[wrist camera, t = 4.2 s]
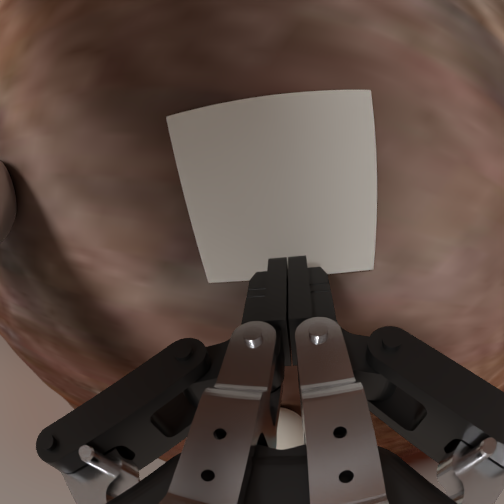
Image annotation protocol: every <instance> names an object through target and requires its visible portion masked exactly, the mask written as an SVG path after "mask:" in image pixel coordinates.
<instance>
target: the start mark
mask: <svg viewBox="0 0 504 504" xmlns="http://www.w3.org/2000/svg"><path fill="white" fill-rule="evenodd" d="M166 120H167V125H168V129H169V134H170V138H171V143H172V147H173V152H174V156H175V160H176V165H177V169H178V173H179V177H180V181H181V185H182V189H183V193H184V197H185V201H186V205H187V209H188V213H189V216H190V220H191V224H192V228H193V231H194V235H195V239H196V242H197V246H198V249H199V253H200V256H201V260H202V263H203V266H204V270H205V273H206V277H207V280H208V283H218V282H234V281H249V280H250V279H251V278H252V277H253V275H254V274H255V273H256V272H262V271H267V267H268V259H270V258H281V257H287V263H288V257H292V256H304V255H306V259H307V267H308V268H310V267H321V268H322V269H323V270H324V271H325V272H326V273H327V274H334V273H345V272H355V271H365V270H373V268H374V256H375V242H376V222H377V160H376V140H375V126H374V115H373V105H372V96H371V90H325V91H308V92H295V93H285V94H276V95H268V96H261V97H254V98H247V99H241V100H236V101H230V102H225V103H220V104H215V105H210V106H206V107H201V108H197V109H193V110H189V111H185V112H181V113H177V114H174V115H170V116H167V117H166Z"/></svg>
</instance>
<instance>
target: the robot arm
mask: <svg viewBox="0 0 504 504" xmlns="http://www.w3.org/2000/svg"><path fill="white" fill-rule="evenodd" d="M291 350H292V360H293V365H297V367H298V382H299V394H300V405H301V416H302V429H303V445H300V446H297V447H293V448H289V449H284V450H279V449H276V445H277V426H278V420H279V413H280V406H281V399H282V392H283V380H284V368H285V366H291ZM369 411H370V412H372V413H373V414H374V415H375V416H377V417H378V418H379V419H380V420H382V421H383V422H384V423H386V424H387V425H388V426H389V427H391V428H392V429H393V430H394V431H396V432H397V433H398V434H400V435H401V436H402V437H404V438H405V439H406V440H408V441H409V442H410V443H412V444H413V445H414V446H416V447H417V448H418V449H420V450H421V451H422V452H424V453H425V454H426V455H428V456H429V457H431V458H432V459H433V460H435V461H436V462H437V463H439V465H438V468H437V479H438V482H439V483H440V485H441V486H442V487H443V488H444V489H445V491H446V493H447V495H446V494H444V493H443V492H442V491H440V490H439V489H438V488H436V487H435V486H434V485H433V484H431V483H430V482H429V481H427V480H426V479H425V478H424V477H423V476H421V475H420V474H419V473H418V472H416V471H415V470H414V469H413V468H412V467H410V466H409V465H408V464H407V463H406V462H404V461H403V460H402V459H401V458H400V457H398V456H397V455H396V454H394V453H392V452H391V451H389V450H387V449H385V448H382V447H379V446H377V442H376V438H375V433H374V429H373V424H372V420H371V416H370V412H369ZM186 437H187V439H186V441H185V444H184V447H183V450H182V453H180V454H178V455H176V456H174V457H173V458H171V459H170V460H168V461H167V462H166V463H165V464H163V465H162V466H161V467H159V468H158V469H157V470H155V471H154V472H153V473H151V474H150V475H148V476H147V477H145V478H144V479H143V480H141V481H140V477H139V470H141V469H142V468H143V467H145V466H147V465H148V464H149V463H151V462H153V461H154V460H155V459H157V458H158V457H160V456H161V455H163V454H164V453H165V452H167V451H168V450H170V449H171V448H172V447H174V446H175V445H177V444H178V443H179V442H181V441H182V440H183V439H185V438H186ZM36 450H37V453H38V455H39V457H40V458H41V459H42V460H43V461H45V462H46V463H48V464H50V465H51V466H53V467H55V468H56V469H58V470H59V471H60V472H61V473H62V475H63V477H64V479H65V481H66V483H67V486H68V488H69V490H70V492H71V494H72V496H73V498H74V500H75V502H76V504H494V503H495V501H496V500H497V498H498V497H499V495H500V493H501V492H502V490H503V488H504V392H502V391H501V390H499V389H498V388H496V387H494V386H493V385H491V384H490V383H488V382H487V381H485V380H483V379H482V378H480V377H479V376H477V375H475V374H474V373H472V372H471V371H469V370H467V369H466V368H464V367H463V366H461V365H459V364H458V363H456V362H455V361H453V360H451V359H450V358H448V357H447V356H445V355H443V354H442V353H440V352H439V351H437V350H435V349H434V348H432V347H430V346H429V345H427V344H426V343H424V342H422V341H421V340H419V339H417V338H416V337H414V336H413V335H411V334H409V333H408V332H406V331H404V330H402V329H400V328H398V327H392V326H388V327H382V328H379V329H377V330H375V331H374V332H373V333H372V334H371V336H370V337H368V336H361V335H355V334H351V333H349V332H347V331H345V330H344V329H342V328H341V327H340V326H339V324H338V322H337V320H336V315H335V310H334V305H333V300H332V295H331V290H330V285H329V280H328V275H327V273H326V272H325V271H324V270H323V269H322V268H321V267H310V268H308V267H307V259H306V255H304V256H292V257H288V263H287V257H281V258H270V259H268V267H267V271H262V272H256V273H255V274H254V275H253V277H252V278H251V279H250V281H249V287H248V292H247V298H246V303H245V308H244V313H243V318H242V324H241V325H240V326H239V327H238V328H236V329H235V330H234V332H233V333H232V335H231V338H230V339H229V340H228V341H226V342H223V343H220V344H216V345H212V346H208V347H205V346H204V344H203V343H202V342H201V341H199V340H197V339H194V338H184V339H180V340H178V341H175V342H174V343H172V344H171V345H169V346H168V347H166V348H165V349H164V350H162V351H161V352H159V353H158V354H156V355H155V356H154V357H152V358H151V359H149V360H148V361H146V362H145V363H143V364H142V365H141V366H139V367H138V368H136V369H135V370H133V371H132V372H130V373H129V374H127V375H126V376H124V377H123V378H122V379H120V380H119V381H117V382H116V383H114V384H113V385H111V386H110V387H108V388H107V389H105V390H104V391H102V392H101V393H99V394H98V395H96V396H95V397H93V398H91V399H90V400H88V401H87V402H85V403H84V404H82V405H81V406H79V407H78V408H76V409H75V410H73V411H71V412H70V413H68V414H67V415H65V416H64V417H62V418H61V419H59V420H57V421H56V422H54V423H53V424H51V425H49V426H48V427H46V428H45V429H43V430H42V432H41V433H40V434H39V436H38V438H37V442H36Z"/></svg>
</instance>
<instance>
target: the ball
mask: <svg viewBox="0 0 504 504" xmlns="http://www.w3.org/2000/svg"><path fill="white" fill-rule="evenodd" d="M300 445H303V429H302V418H301V417H300V416H299V415H298V414H297V413H295V412H294V411H291V410H289V409H286V408H281V407H280V413H279V420H278V426H277V445H276V449H279V450H284V449H289V448H293V447H297V446H300Z"/></svg>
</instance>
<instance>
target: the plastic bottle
mask: <svg viewBox="0 0 504 504" xmlns="http://www.w3.org/2000/svg"><path fill="white" fill-rule="evenodd" d="M15 217H16V196H15V190H14V186H13V183H12V180H11V177H10V174H9V172H8V170H7V168H6V167H5V165H4V164H3V163H2V162H1V161H0V243H1V242H2V241H3V240H4V239H5V238H6V237H7V236H8V234H9V233H10V231H11V228H12V226H13V223H14V220H15Z"/></svg>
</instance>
